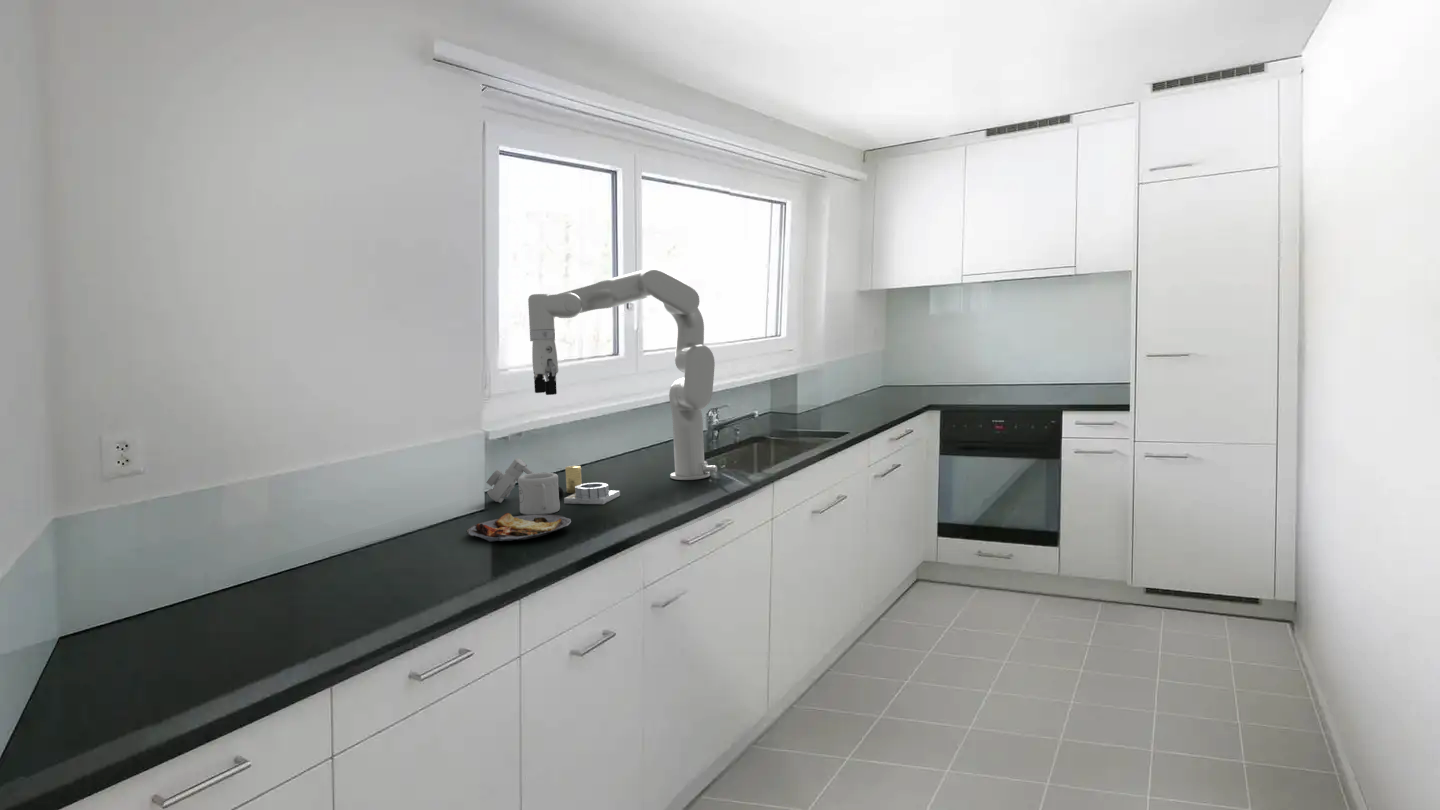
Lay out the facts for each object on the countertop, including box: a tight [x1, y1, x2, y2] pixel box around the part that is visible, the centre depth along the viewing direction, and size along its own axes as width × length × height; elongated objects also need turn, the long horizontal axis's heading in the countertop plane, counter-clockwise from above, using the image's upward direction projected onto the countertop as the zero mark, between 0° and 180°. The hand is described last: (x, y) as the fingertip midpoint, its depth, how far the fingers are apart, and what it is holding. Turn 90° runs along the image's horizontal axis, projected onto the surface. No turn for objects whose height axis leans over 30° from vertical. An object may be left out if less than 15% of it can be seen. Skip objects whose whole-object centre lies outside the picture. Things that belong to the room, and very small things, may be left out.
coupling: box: [564, 465, 583, 494], centre depth 292 cm, size 5×5×8 cm
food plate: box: [465, 512, 572, 543], centre depth 240 cm, size 25×23×4 cm
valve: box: [486, 457, 564, 504], centre depth 281 cm, size 10×20×15 cm
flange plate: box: [563, 482, 621, 505], centre depth 278 cm, size 12×12×4 cm
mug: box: [517, 472, 561, 516], centre depth 263 cm, size 14×11×10 cm
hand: (545, 393), depth 288 cm, fingers open, 9 cm apart
